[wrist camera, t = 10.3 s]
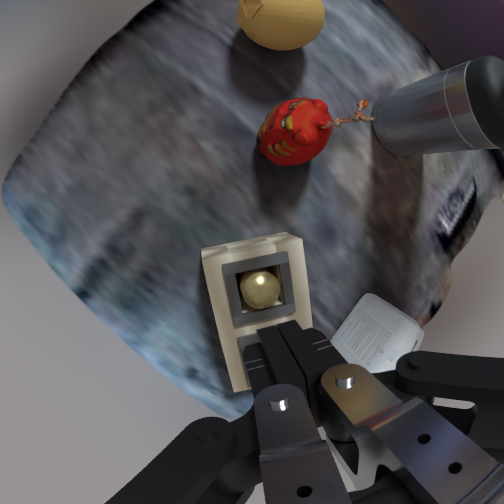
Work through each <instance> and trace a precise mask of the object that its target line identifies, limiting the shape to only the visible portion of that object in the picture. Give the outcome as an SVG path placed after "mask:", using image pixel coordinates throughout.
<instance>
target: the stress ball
mask: <svg viewBox="0 0 504 504" xmlns="http://www.w3.org/2000/svg"><path fill="white" fill-rule="evenodd" d="M236 18H237V22H238V25H239V27H240V28H241V27H242V29H243V31H244V32H245V33H246V35H247V36H248V37H249V38H250V39H252V40H253V41H254V42H256V43H257V44H259V45H261V46H263V47H266V48H269V49H274V50H292V49H297V48H300V47H302V46H304V45H306V44H308V43H310V42H311V41H312V40H314V39H315V38H316V37H317V35H318V34H319V33H320V31H321V29H322V27H323V24H324V19H325V12H324V7H323V4H322V1H321V0H240V2H239V5H238V17H236Z"/></svg>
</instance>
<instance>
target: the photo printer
mask: <svg viewBox="0 0 504 504" xmlns="http://www.w3.org/2000/svg"><path fill="white" fill-rule="evenodd" d="M423 337H424V331H422V330H421V328H420V326H419V324H418V323H417V322H416V321H415V320H414V319H413V318H411V317H410V316H408V315H407V314H405V313H403V312H402V311H400V310H399V309H397V308H396V307H394V306H393V305H391V304H389V303H388V302H386V301H385V300H383V299H381V298H380V297H378V296H377V295H375V294H372V293H366V294H365V295H364V296H363V297H362V298H361V299H360V300H359V302H358V303H357V304H356V306H355V307H354V308H353V310H352V311H351V312H350V314H349V315H348V317H347V318H346V319H345V321H344V322H343V323H342V325H341V326H340V327H339V329H338V330H337V331H336V333H335V334H334V336H333V337H332V339H331V340H330V342H331V343H332V345H333V346H334V347H335V348H336V349H337V350H338V351H339V353H340V354H341V355H342V356H343V357H344V358H345V360H346V361H347V362H348V363H350V364H357V365H360V366H362V367H364V368H365V369H366V370H368V371H369V372H370V373H379V372H385V371H390V370H395V369H396V362H397V360H398V359H399V358H400V357H401V356H403V355H404V354H406V353H409V352H413V351H418V349H419V347H420V344H421V342H422V340H423Z"/></svg>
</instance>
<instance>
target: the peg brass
mask: <svg viewBox="0 0 504 504" xmlns="http://www.w3.org/2000/svg"><path fill="white" fill-rule="evenodd" d="M236 280H237V283H238V285H239V287H240V289H241V292H242V294H243V297H244V300H245V301H246V302H247V304H249V305H250V306H251V307H254V308H258V309H262V308H267V307H269V306H271V305H272V304H274V303H275V301H276V300H277V299H278V297H279V294H280V285H279V282H278V280H277V279H276V278H275V277H274V276H273V275H272V274H271V273H270V272H269V271H268V270H267V269H266V268H265V267H263V268H258V269H254V270H249V271H244V272H240V273H236Z"/></svg>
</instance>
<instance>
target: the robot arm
mask: <svg viewBox="0 0 504 504" xmlns="http://www.w3.org/2000/svg"><path fill="white" fill-rule="evenodd" d="M372 117H375V120H372V124H373V128H374V132H375V134H376V136H377V138H378V140H379V141H380V143H381V144H382V145H383V146H384V148H385V149H386V150H388V151H389V152H390V153H392V154H394V155H396V156H401V157H403V156H413V155H423V154H432V153H442V152H453V151H465V150H479V149H493V148H504V62H503V61H502V60H500V59H498V58H497V57H494V56H484V57H481V58H478V59H475V60H472V61H469V62H466V63H463V64H460V65H458V66H455V67H452V68H450V69H447V70H445V71H442V72H439V73H437V74H434V75H432V76H429V77H427V78H424V79H422V80H419V81H417V82H414V83H412V84H410V85H407V86H405V87H402V88H400V89H398V90H395V91H393V92H391V93H389V94H386V95H384V96H382V97H380V98H379V99H378V100H377V101H376V103H375V105H374V107H373V110H372ZM256 333H257V338H258V343H254V344H250V345H246V347H245V349H244V351H243V353H242V355H243V359H244V363H245V366H246V370H247V374H248V377H249V381H250V385H251V388H252V392H253V395H254V403H253V405H252V407H251V409H250V410H249V411H248V412H247V413H246V414H245V415H243V416H242V417H240V418H238V419H236V420H234V421H232V422H230V423H229V422H228V421H227V420H225V419H223V418H219V417H205V418H201V419H198V420H196V421H194V422H192V423H190V424H189V425H188V426H187V427H186V428H185V429H184V430H183V431H182V432H181V433H180V434H179V435H178V436H177V437H176V438H175V439H174V440H173V441H172V442H171V443H170V444H169V445H168V446H167V447H166V448H165V449H164V450H163V451H162V452H161V453H160V454H158V455H157V456H156V457H155V458H154V459H153V460H152V461H151V462H150V463H149V464H148V465H147V466H146V467H145V468H144V469H143V470H142V471H141V472H139V473H138V474H137V475H136V476H135V477H134V478H133V479H132V480H131V481H130V482H129V483H127V484H126V485H125V486H124V487H123V488H122V489H121V490H120V491H118V492H117V493H116V494H115V495H114V496H113V497H112V498H110V499H109V500H108V501H107V502H106V503H105V504H245V502H246V501H247V500H248V498H249V497H250V495H251V494H252V493H253V491H254V488H255V485H257V484H259V483H261V482H263V488H264V495H265V501H266V504H504V358H494V357H479V356H468V355H455V354H446V353H437V352H427V351H413V352H409V353H406V354H404V355H403V356H401V357H400V358H399V359H398V360H397V362H396V369H395V370H390V371H385V372H379V373H370V372H369V371H368V370H366V369H365V368H364V367H362V366H360V365H357V364H350V363H348V362H347V361H346V360H345V358H344V357H343V356H342V355H341V354H340V353H339V351H338V350H337V349H336V348H335V347H334V346H333V345H332V343H331V342H330V341H329V340H328V339H327V337H326V336H325V335H324V334H323V333H322V332H321V331H319V330H316V329H314V328H312V327H311V328H308V329H304V330H303V329H302V328H301V327H300V325H299V324H298V323H297V321H296V320H295V319H294V320H290V321H287V322H283V323H279V324H276V326H275V325H272V326H268V327H265V328H261V329H257V330H256ZM435 397H439V398H447V399H454V400H463V401H470V402H473V403H475V405H474V406H473V407H472V408H469V409H459V408H450V407H444V406H436V405H433V402H434V398H435ZM321 426H323V428H324V430H325V432H326V440H322V439H321V437H320V434H319V432H318V429H317V428H318V427H321ZM326 441H327V442H326ZM329 447H330V448H329ZM330 449H331V450H332V451H333V453H334V455H335V456H336V457H337V459H338V461H339V462H340V464H341V465H342V467H343V468H344V469H345V471H346V472H347V474H348V475H349V477H350V478H351V480H352V481H353V483H354V486H355V489H356V491H353V492H349V493H348V492H347V490H346V487H345V485H344V482H343V480H342V477H341V475H340V473H339V470H338V468H337V465H336V463H335V460H334V458H333V455H332V453H331V450H330Z"/></svg>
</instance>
